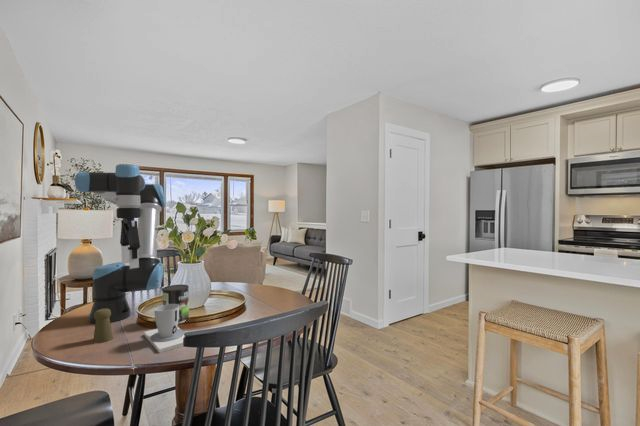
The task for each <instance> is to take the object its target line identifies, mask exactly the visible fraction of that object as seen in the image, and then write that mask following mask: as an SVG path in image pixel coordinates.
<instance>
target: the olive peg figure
mask: <svg viewBox="0 0 640 426" xmlns="http://www.w3.org/2000/svg"><path fill="white" fill-rule="evenodd" d="M110 316H111V310H110V309H99V310H97V311H95V313H94V318H95V319H96V323H94V324H95V325H94V332H93V340H92V342H93V343H95V344H102V343H106V342H109V341H111V340H113V339H114V335H113V331H112V325H111V322H110V318H109V317H110Z"/></svg>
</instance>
